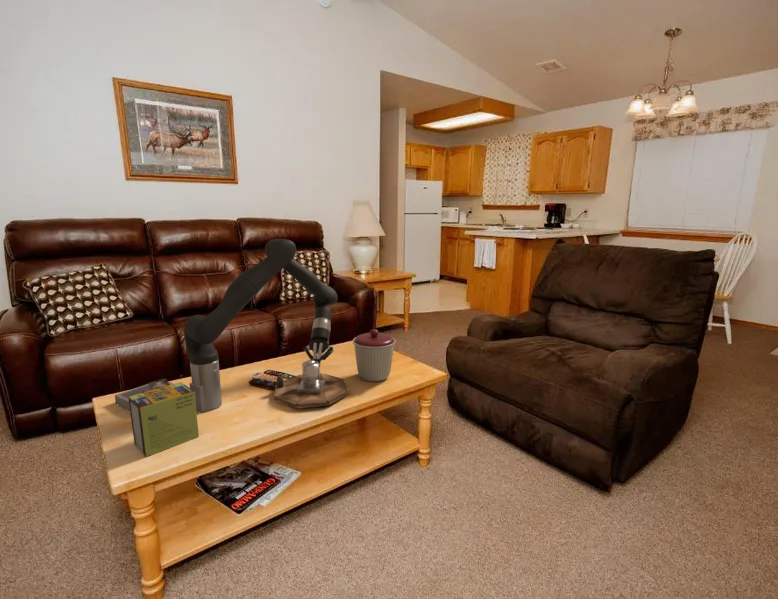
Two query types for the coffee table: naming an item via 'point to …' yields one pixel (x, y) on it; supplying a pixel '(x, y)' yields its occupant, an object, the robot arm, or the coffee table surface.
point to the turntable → (329, 394)
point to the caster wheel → (157, 385)
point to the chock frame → (123, 397)
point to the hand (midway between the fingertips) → (315, 368)
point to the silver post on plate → (311, 378)
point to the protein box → (163, 418)
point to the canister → (374, 355)
